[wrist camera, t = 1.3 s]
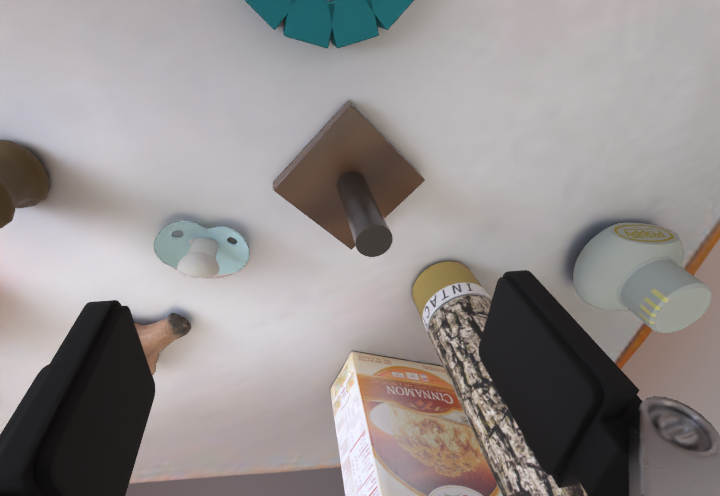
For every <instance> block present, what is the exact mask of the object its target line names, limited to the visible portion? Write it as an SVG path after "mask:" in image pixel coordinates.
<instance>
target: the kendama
mask: <svg viewBox="0 0 720 496" xmlns="http://www.w3.org/2000/svg"><path fill="white" fill-rule="evenodd" d="M49 188H50V184H49V179H48V174H47V172H46V170H45V168H44V167H43V165H42V163H41V162H40V160H39V159H38V158H37V157H36V156H35V155H33V154H32V153H31V152H30V151H29V150H28V149H27V148H25V147H22V146H20V145H18V144H15V143H13V142H11V141H5V140H0V228H2V227H4V226H5V225H7V224H8V223H9V222H11V221H12V219H13V216H14V212H15V208H24V207H29V206H35V205H37V204H38V203H40V202H41V201H43V200H44V199H46V197H47V194H48V191H49Z"/></svg>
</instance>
